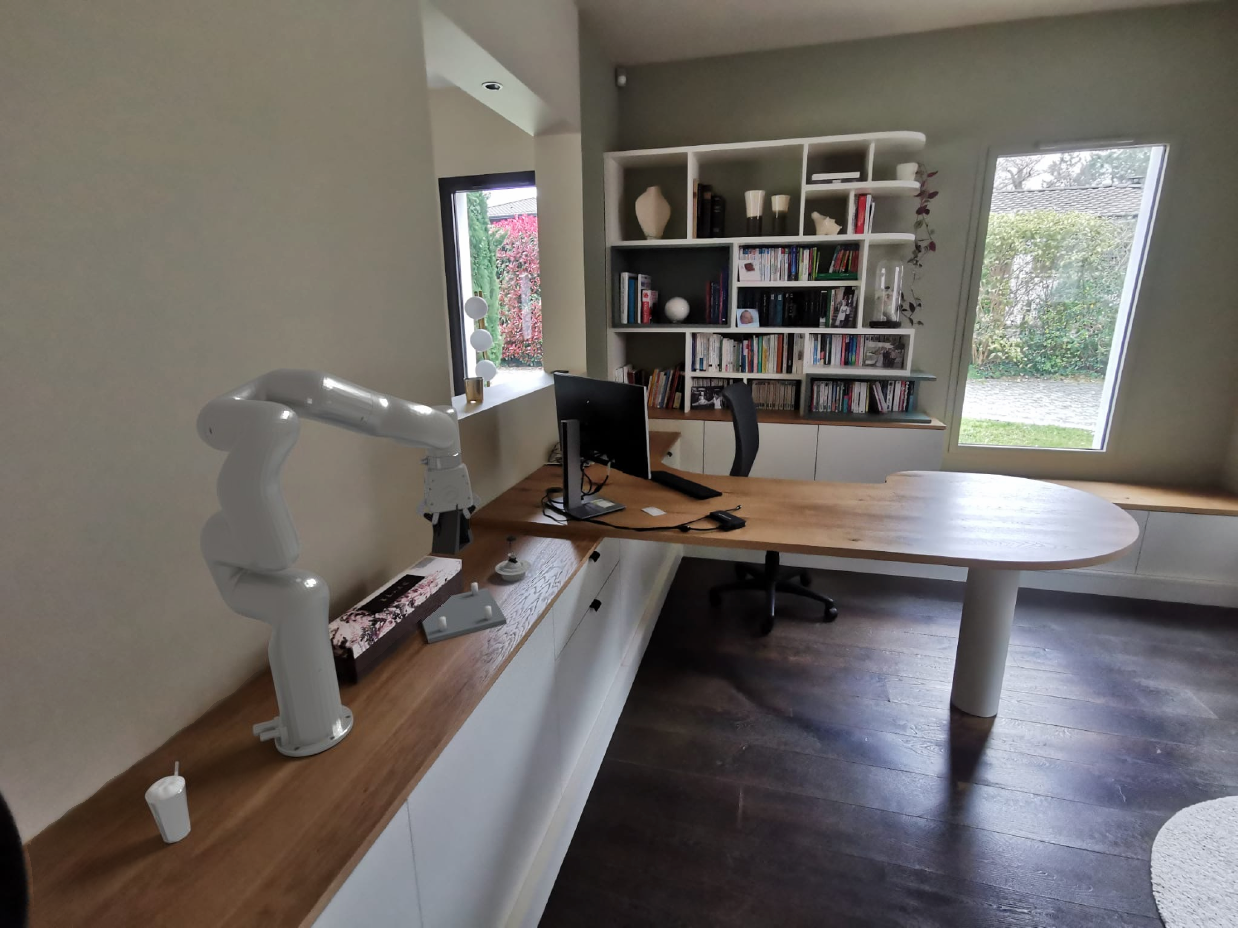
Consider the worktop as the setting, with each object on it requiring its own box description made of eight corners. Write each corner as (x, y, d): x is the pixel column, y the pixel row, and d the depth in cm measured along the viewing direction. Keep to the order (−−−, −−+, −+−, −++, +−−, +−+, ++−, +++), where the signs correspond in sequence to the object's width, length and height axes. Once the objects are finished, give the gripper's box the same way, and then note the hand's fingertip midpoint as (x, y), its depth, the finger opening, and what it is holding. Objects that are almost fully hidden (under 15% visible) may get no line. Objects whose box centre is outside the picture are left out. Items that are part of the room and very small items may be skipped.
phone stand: (454, 555, 134) (449, 505, 131) (431, 553, 136) (425, 504, 133) (474, 540, 143) (469, 493, 139) (451, 538, 144) (447, 491, 141)
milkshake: (206, 815, 90) (193, 760, 87) (183, 846, 85) (167, 789, 82) (176, 816, 90) (161, 761, 87) (150, 848, 84) (133, 791, 82)
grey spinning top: (536, 532, 164) (510, 525, 169) (511, 545, 156) (484, 537, 161) (539, 573, 167) (513, 565, 173) (514, 587, 159) (488, 578, 165)
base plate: (428, 643, 134) (426, 626, 133) (416, 607, 149) (415, 592, 148) (506, 623, 142) (505, 607, 140) (487, 591, 157) (486, 577, 156)
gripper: (406, 470, 127) (416, 548, 132) (486, 459, 134) (492, 534, 139) (402, 462, 133) (411, 536, 138) (478, 452, 140) (484, 523, 145)
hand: (452, 534), depth 139 cm, fingers closed on phone stand, 5 cm apart
